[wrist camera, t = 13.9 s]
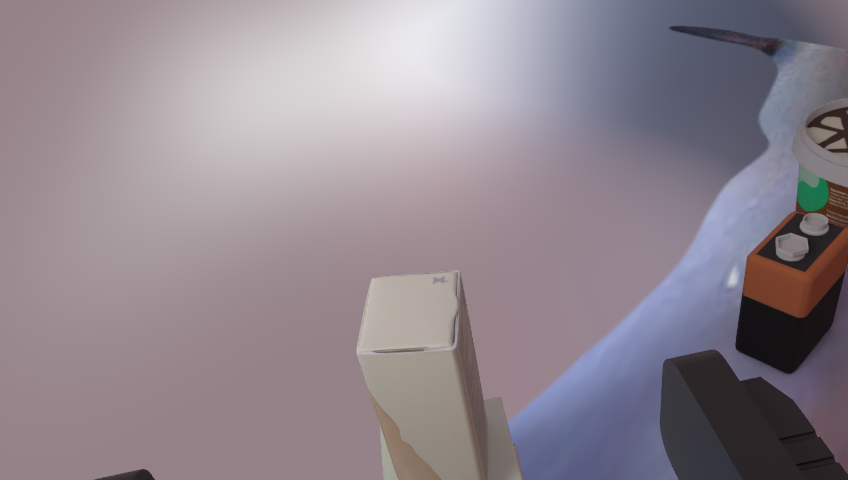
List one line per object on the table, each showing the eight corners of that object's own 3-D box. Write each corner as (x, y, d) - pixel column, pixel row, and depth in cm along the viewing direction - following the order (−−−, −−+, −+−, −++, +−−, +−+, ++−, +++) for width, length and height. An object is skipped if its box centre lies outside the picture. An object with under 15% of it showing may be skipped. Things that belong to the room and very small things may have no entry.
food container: (802, 180, 68) (819, 84, 62) (875, 194, 64) (901, 94, 59) (760, 251, 61) (775, 150, 55) (840, 272, 57) (864, 166, 51)
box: (413, 423, 39) (371, 270, 33) (490, 420, 39) (462, 263, 32) (402, 508, 35) (352, 352, 29) (489, 506, 35) (456, 345, 28)
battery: (731, 351, 53) (745, 244, 47) (776, 302, 56) (794, 196, 50) (790, 378, 50) (813, 269, 44) (834, 325, 53) (860, 216, 47)
